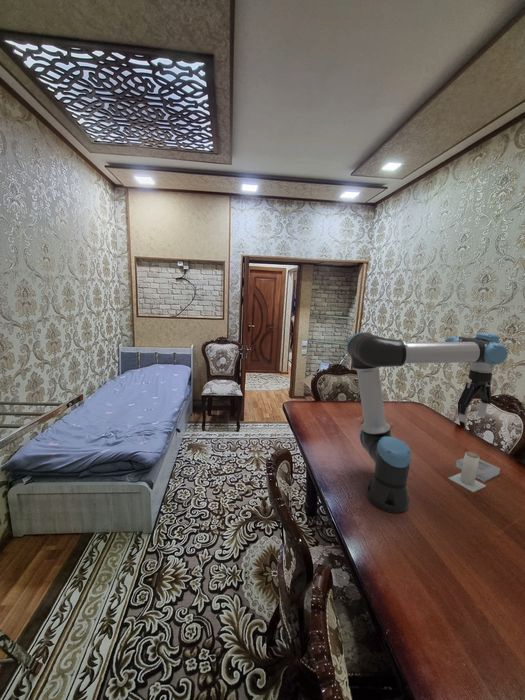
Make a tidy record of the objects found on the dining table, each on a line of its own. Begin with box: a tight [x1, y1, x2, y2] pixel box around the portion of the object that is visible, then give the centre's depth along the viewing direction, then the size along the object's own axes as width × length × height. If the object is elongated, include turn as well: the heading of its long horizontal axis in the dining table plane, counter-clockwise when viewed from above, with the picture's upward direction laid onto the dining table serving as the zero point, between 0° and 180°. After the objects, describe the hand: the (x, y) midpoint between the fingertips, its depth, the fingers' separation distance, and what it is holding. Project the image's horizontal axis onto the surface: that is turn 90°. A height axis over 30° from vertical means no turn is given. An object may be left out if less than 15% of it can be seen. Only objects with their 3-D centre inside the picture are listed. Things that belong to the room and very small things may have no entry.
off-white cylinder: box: [460, 451, 480, 486], centre depth 121 cm, size 5×5×13 cm
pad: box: [447, 472, 487, 493], centre depth 122 cm, size 10×10×1 cm
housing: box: [455, 457, 501, 482], centre depth 131 cm, size 12×12×4 cm
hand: (471, 419), depth 120 cm, fingers open, 13 cm apart
